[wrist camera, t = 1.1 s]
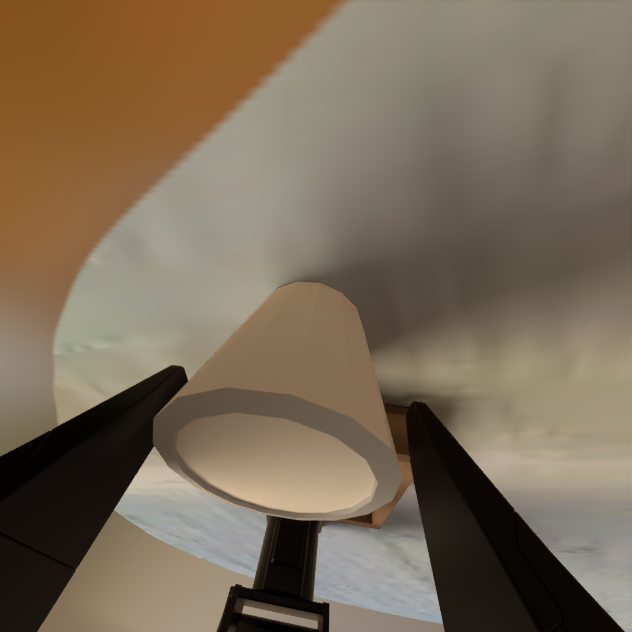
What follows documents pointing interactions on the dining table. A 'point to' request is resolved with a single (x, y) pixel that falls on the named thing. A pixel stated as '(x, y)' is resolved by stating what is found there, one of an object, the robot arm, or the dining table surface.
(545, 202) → the dining table surface
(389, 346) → the dining table surface
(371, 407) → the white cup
